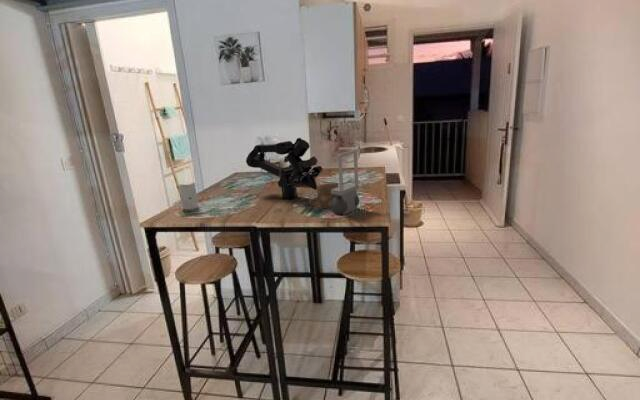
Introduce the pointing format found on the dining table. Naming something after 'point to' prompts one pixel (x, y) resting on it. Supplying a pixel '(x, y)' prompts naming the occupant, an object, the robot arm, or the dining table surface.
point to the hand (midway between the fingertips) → (316, 189)
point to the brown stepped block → (324, 195)
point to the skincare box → (188, 195)
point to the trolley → (345, 189)
